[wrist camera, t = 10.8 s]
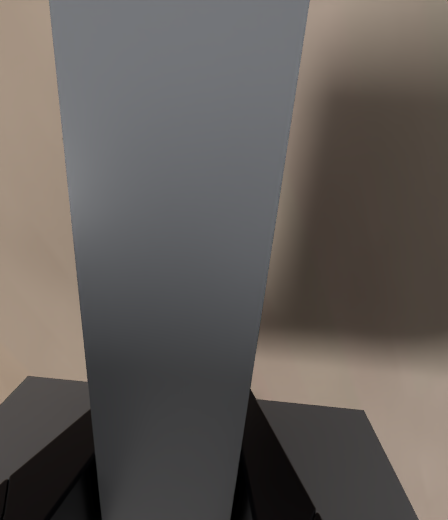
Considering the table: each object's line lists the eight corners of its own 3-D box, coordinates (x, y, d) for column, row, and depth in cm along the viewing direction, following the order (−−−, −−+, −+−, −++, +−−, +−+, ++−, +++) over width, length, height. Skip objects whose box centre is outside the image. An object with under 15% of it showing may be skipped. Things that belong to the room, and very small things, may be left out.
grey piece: (475, 84, 6) (924, -53, 2) (352, 442, 10) (430, 635, 6) (-38, 38, 7) (-521, -171, 2) (34, 409, 11) (-100, 576, 6)
